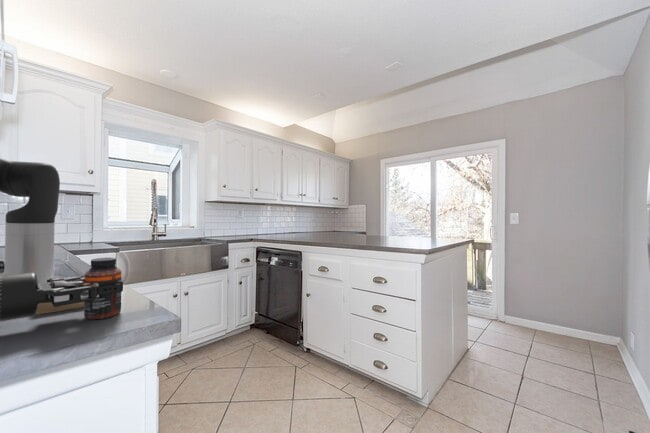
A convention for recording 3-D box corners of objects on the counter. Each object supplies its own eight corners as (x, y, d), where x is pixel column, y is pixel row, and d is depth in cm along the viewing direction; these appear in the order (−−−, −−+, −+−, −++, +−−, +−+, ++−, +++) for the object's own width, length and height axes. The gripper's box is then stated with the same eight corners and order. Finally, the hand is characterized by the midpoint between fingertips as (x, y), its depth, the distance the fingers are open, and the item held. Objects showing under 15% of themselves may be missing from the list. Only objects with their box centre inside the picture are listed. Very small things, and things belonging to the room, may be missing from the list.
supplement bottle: (117, 308, 63) (119, 255, 63) (123, 316, 59) (125, 259, 59) (81, 314, 59) (83, 258, 59) (85, 323, 55) (86, 262, 55)
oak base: (34, 305, 64) (34, 291, 64) (81, 298, 70) (82, 285, 70) (36, 314, 58) (37, 298, 58) (88, 306, 64) (88, 291, 64)
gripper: (-5, 283, 43) (128, 269, 56) (-3, 269, 53) (110, 260, 66) (-6, 334, 43) (127, 309, 56) (-4, 311, 53) (109, 294, 66)
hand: (118, 283), depth 61 cm, fingers closed on supplement bottle, 6 cm apart
